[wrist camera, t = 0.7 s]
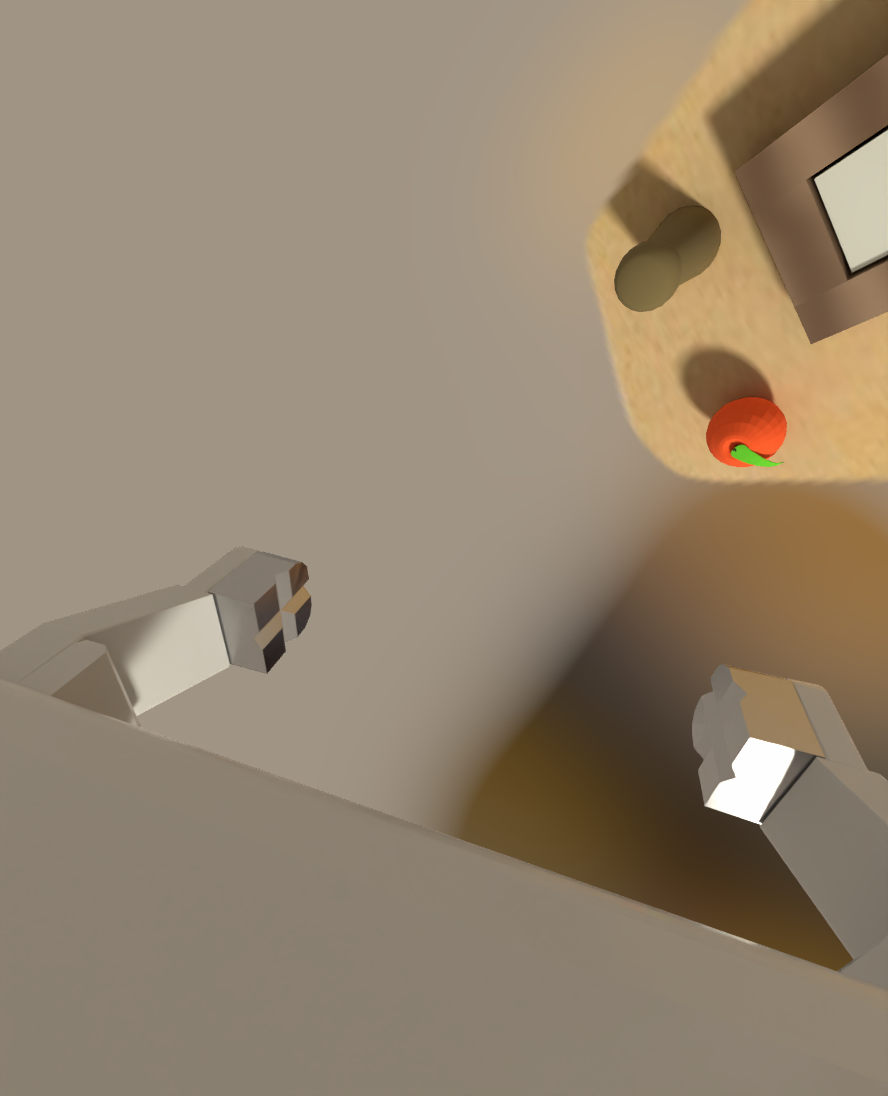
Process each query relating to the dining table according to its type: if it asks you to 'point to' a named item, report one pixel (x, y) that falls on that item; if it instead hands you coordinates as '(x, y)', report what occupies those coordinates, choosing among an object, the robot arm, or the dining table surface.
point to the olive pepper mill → (668, 258)
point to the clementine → (746, 432)
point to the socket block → (819, 209)
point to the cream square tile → (859, 201)
